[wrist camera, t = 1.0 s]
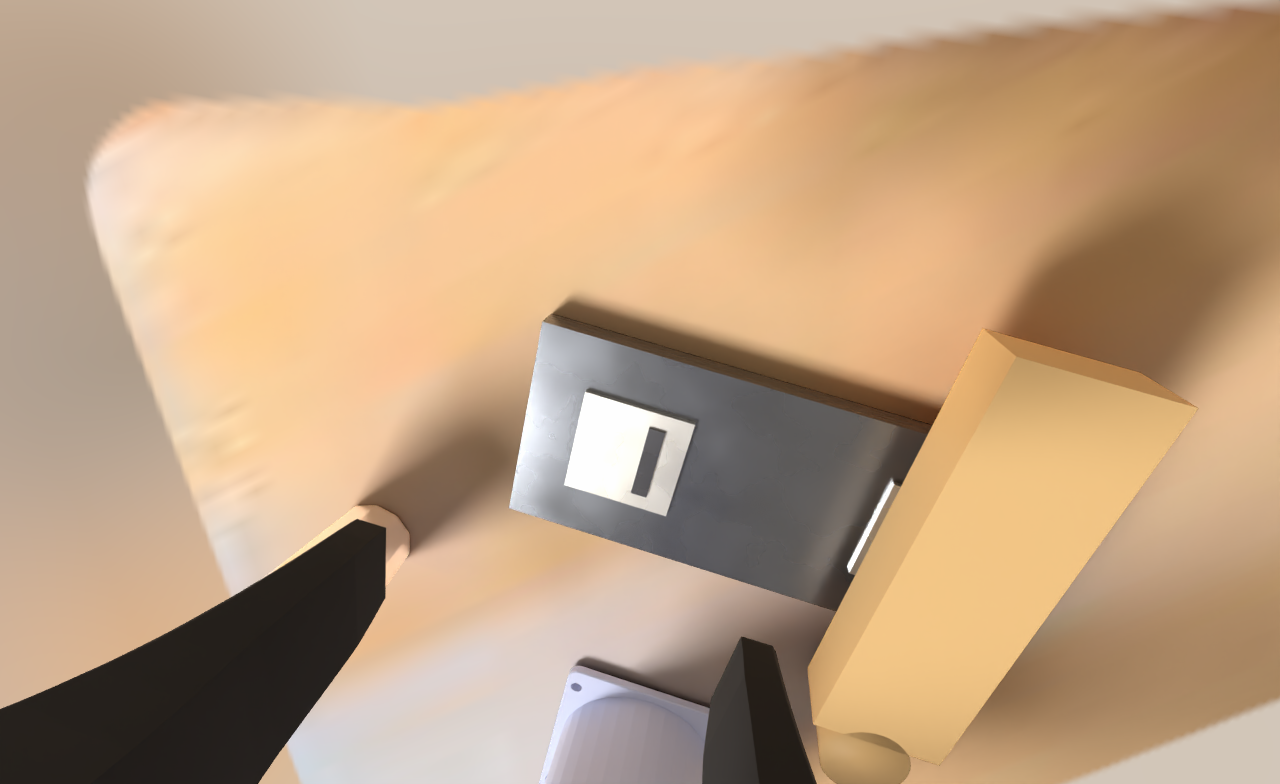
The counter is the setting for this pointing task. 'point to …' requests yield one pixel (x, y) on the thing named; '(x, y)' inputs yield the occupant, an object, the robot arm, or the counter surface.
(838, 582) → the panel
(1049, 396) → the light wooden plank
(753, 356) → the counter surface
